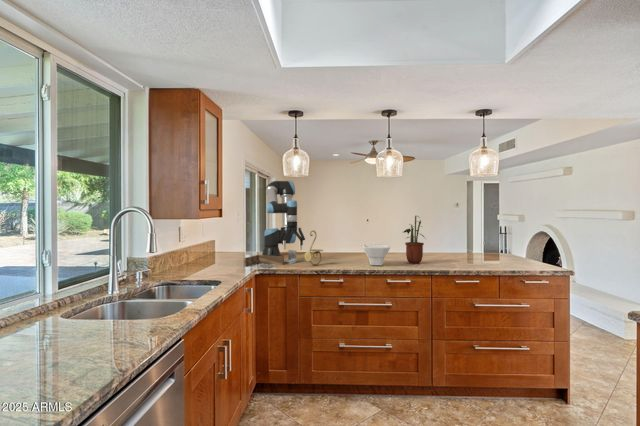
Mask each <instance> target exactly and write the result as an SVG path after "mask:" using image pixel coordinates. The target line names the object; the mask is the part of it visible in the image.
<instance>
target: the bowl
mask: <svg viewBox="0 0 640 426" xmlns="http://www.w3.org/2000/svg"><path fill="white" fill-rule="evenodd" d="M362 248H363V251H364V253H365V254H366V256H367V258H368V261H369V264H370V265H371V266H383V264H384V261H385V258H386V257H387V255H388V254H389V253H388V252H389V251H390V249H391V246H390V245H389V244H363V245H362Z"/></svg>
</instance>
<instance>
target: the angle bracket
mask: <svg viewBox="0 0 640 426" xmlns="http://www.w3.org/2000/svg"><path fill="white" fill-rule="evenodd" d="M287 252H288V253H287V254H288V255H287V257H288V259H287V260H286V261H285V260H284V265H293V263H294V264H296V263H297V250H292V249H289V250H288V251H287Z"/></svg>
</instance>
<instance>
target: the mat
mask: <svg viewBox="0 0 640 426" xmlns="http://www.w3.org/2000/svg"><path fill="white" fill-rule="evenodd" d="M259 265H260V267H262V269H263V268H264V269H271V268H274V266H275V264H259ZM260 267H259V268H260Z"/></svg>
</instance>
